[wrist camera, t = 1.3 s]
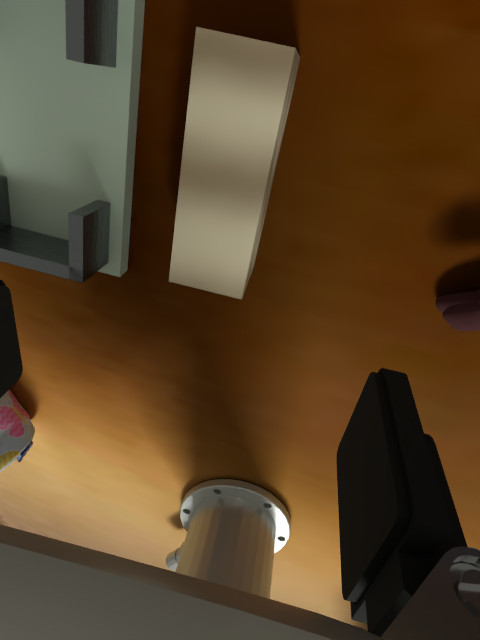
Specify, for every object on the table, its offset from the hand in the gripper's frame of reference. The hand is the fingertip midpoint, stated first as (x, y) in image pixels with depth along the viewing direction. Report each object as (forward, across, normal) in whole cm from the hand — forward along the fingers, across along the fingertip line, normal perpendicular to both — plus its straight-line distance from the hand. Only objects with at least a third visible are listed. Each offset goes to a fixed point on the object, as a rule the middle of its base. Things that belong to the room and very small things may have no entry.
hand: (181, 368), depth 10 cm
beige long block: (+22, +2, -1) cm, 22 cm away
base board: (+21, +15, -1) cm, 26 cm away
